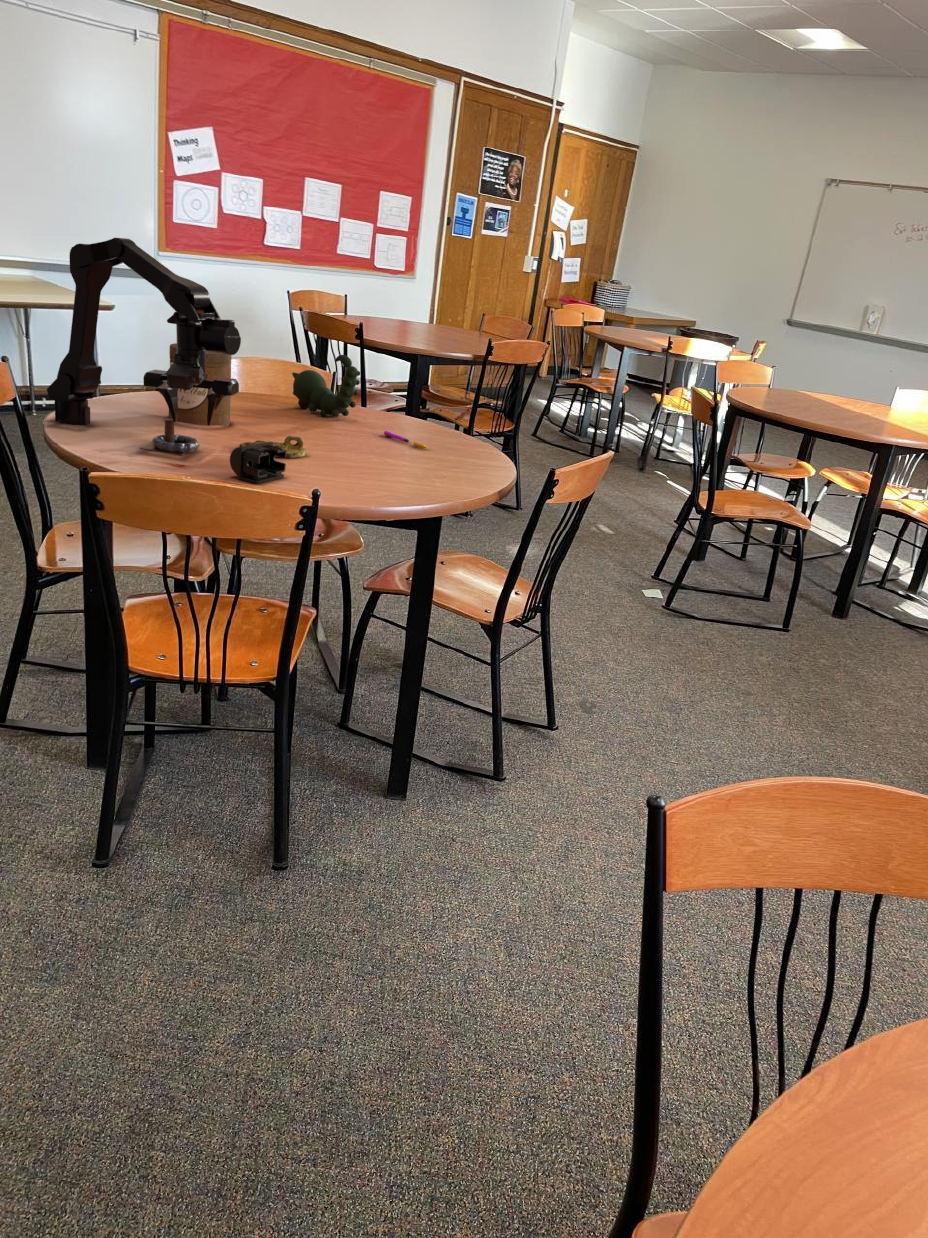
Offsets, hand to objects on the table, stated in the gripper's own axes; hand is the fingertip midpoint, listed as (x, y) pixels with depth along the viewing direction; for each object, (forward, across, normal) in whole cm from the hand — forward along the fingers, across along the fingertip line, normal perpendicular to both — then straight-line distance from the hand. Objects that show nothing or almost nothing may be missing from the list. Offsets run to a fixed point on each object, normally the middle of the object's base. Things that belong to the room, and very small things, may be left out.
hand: (192, 423), depth 193 cm
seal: (+8, +14, +14) cm, 21 cm away
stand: (+7, -5, 0) cm, 9 cm away
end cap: (+8, +17, -8) cm, 20 cm away
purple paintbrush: (+9, +41, +48) cm, 64 cm away
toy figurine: (+8, +13, +68) cm, 70 cm away
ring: (+5, -4, 0) cm, 6 cm away
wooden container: (+7, -10, +33) cm, 35 cm away
